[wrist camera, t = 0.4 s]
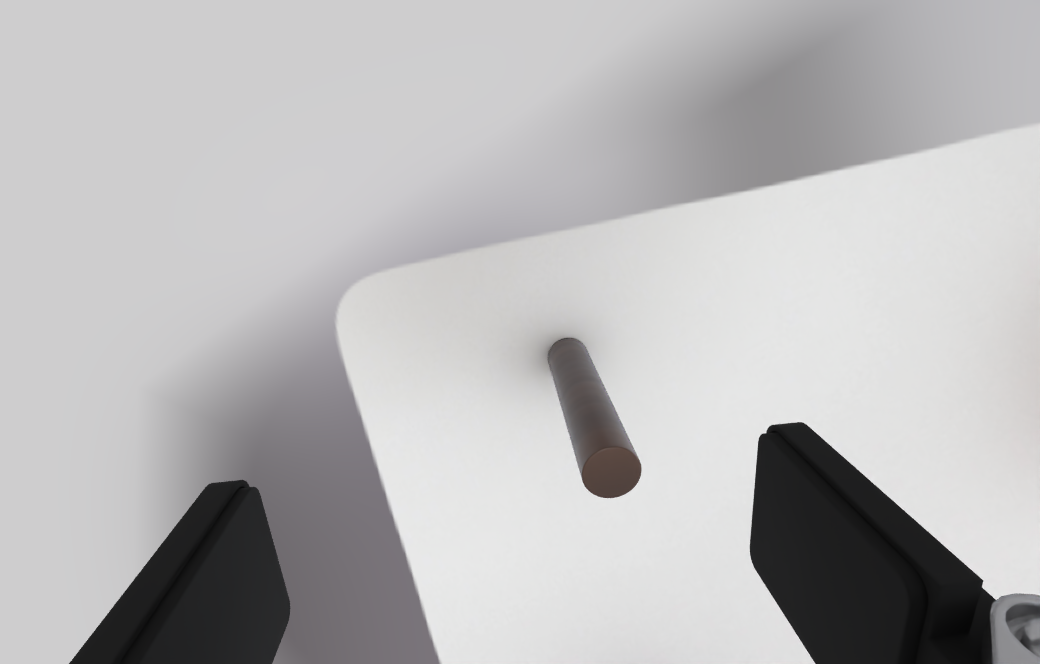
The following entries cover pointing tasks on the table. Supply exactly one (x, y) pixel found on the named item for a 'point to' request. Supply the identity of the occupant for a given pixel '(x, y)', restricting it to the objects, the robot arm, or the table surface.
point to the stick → (592, 422)
